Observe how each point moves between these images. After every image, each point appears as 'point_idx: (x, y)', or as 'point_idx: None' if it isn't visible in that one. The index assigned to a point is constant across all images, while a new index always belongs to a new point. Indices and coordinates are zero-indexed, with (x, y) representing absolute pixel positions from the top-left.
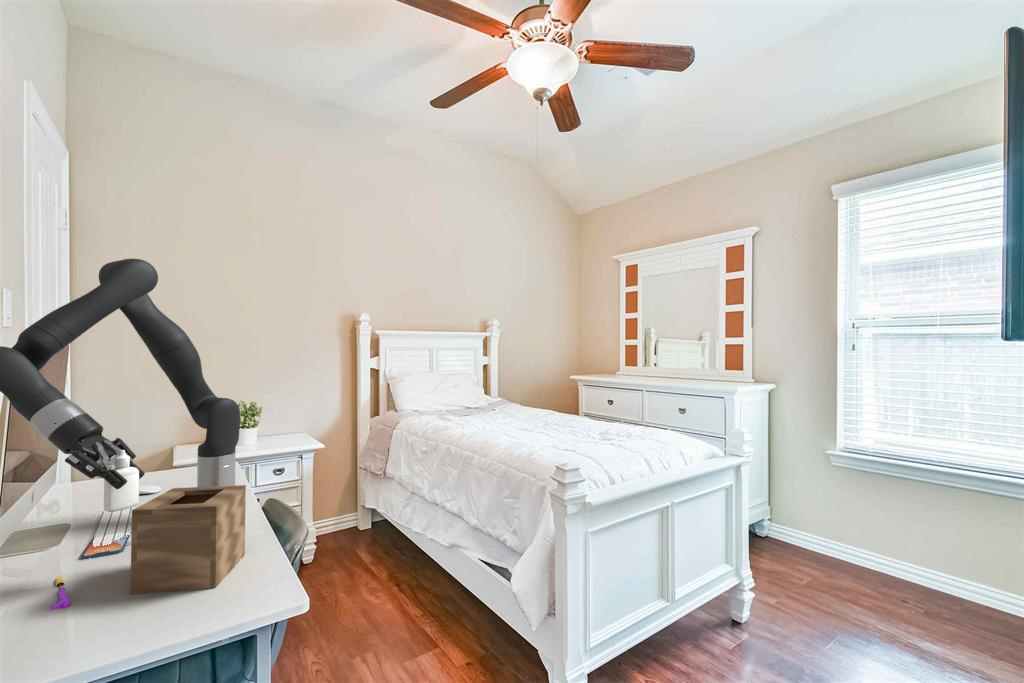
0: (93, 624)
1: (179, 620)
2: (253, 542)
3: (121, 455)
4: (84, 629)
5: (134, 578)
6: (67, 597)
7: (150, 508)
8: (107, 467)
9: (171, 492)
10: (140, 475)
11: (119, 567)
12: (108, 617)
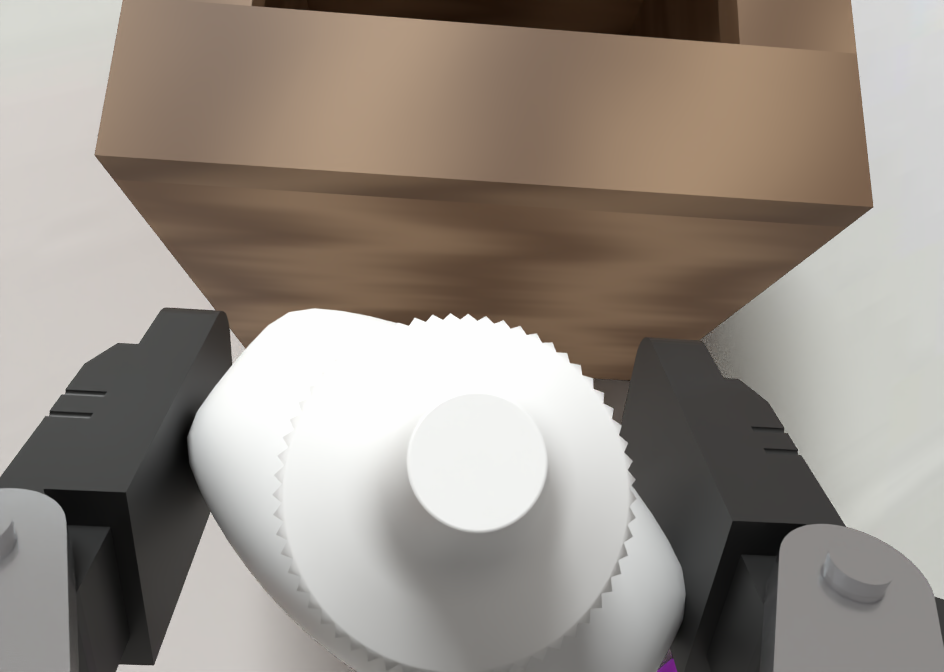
0: (897, 393)
1: (886, 90)
2: (105, 23)
3: (550, 462)
4: (933, 407)
5: None
6: (674, 663)
7: (831, 75)
8: (904, 583)
9: (290, 106)
10: (220, 352)
11: (283, 624)
12: (846, 364)
